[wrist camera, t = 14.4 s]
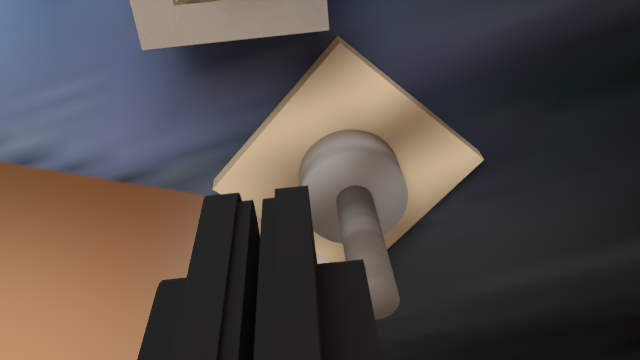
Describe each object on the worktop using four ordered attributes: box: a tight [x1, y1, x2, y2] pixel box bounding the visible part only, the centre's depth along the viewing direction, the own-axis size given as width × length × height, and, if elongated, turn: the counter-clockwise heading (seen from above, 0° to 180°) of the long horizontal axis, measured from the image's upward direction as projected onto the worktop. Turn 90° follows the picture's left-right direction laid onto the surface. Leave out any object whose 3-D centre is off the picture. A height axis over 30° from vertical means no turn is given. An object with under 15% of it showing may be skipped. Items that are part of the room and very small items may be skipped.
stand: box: [213, 36, 484, 319], centre depth 28 cm, size 10×10×10 cm
